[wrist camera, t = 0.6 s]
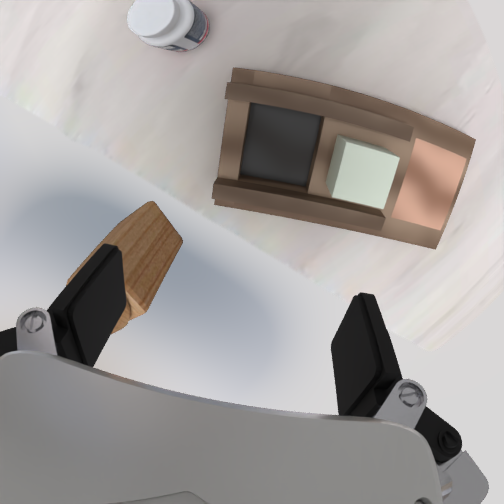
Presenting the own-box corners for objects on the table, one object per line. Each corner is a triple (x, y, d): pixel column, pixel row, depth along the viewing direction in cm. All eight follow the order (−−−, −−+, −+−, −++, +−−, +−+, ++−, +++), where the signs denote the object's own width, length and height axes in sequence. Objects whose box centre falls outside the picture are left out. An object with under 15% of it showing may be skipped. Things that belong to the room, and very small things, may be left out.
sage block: (337, 134, 26) (346, 142, 23) (385, 147, 26) (399, 157, 23) (325, 182, 29) (331, 197, 25) (371, 193, 29) (383, 209, 25)
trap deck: (236, 68, 26) (229, 66, 22) (464, 134, 26) (485, 144, 22) (218, 196, 33) (210, 212, 29) (427, 239, 33) (442, 258, 29)
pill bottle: (195, -2, 22) (166, -28, 14) (218, 35, 24) (196, 17, 16) (151, 25, 23) (110, 10, 16) (173, 61, 25) (136, 55, 18)
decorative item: (149, 262, 38) (79, 384, 21) (117, 223, 36) (24, 333, 19) (186, 240, 36) (120, 375, 19) (153, 196, 34) (54, 312, 17)
